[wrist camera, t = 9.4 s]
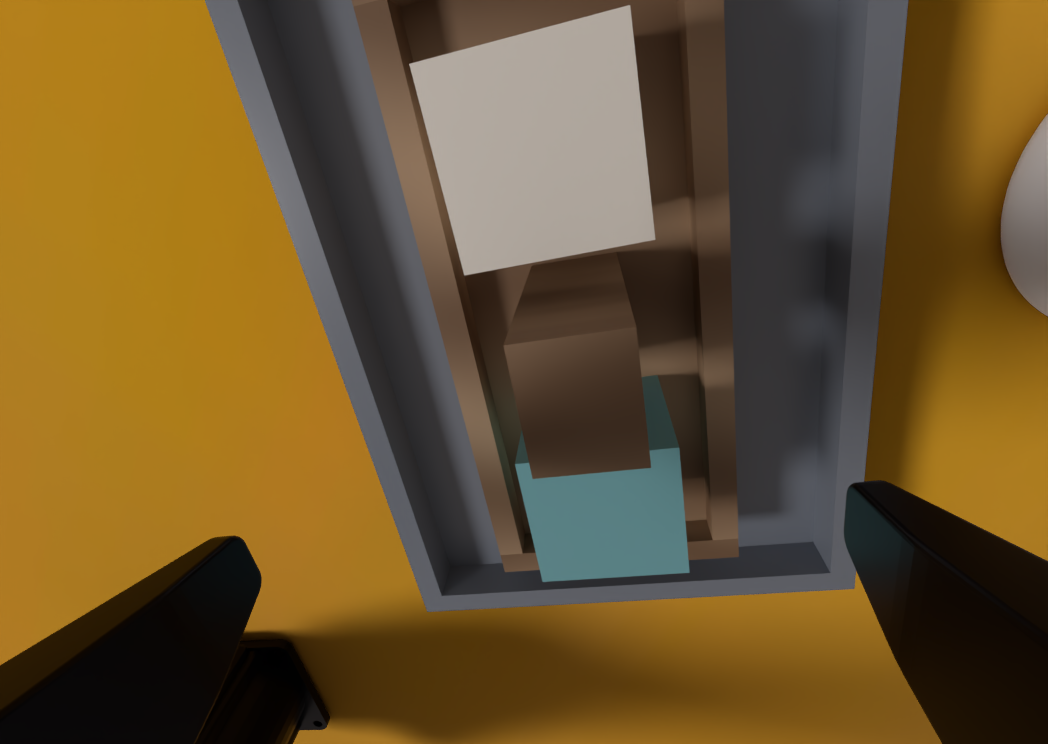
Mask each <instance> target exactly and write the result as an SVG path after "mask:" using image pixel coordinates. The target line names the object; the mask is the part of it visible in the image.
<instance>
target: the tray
mask: <svg viewBox="0 0 1048 744" xmlns="http://www.w3.org/2000/svg"><path fill="white" fill-rule="evenodd" d="M205 2H206V5H207V8H208V10H209V13H210V16H211V19H212V21H213V24H214V27H215V30H216V32H217V35H218V38H219V41H220V43H221V46H222V49H223V52H224V54H225V57H226V60H227V62H228V65H229V68H230V71H231V73H232V76H233V79H234V82H235V84H236V87H237V90H238V93H239V95H240V98H241V101H242V104H243V106H244V109H245V112H246V115H247V117H248V120H249V123H250V126H251V128H252V131H253V134H254V137H255V139H256V142H257V145H258V148H259V150H260V153H261V156H262V159H263V161H264V164H265V167H266V170H267V172H268V175H269V178H270V181H271V183H272V186H273V189H274V192H275V194H276V197H277V200H278V203H279V205H280V208H281V211H282V214H283V216H284V219H285V222H286V225H287V227H288V230H289V233H290V236H291V238H292V241H293V244H294V247H295V249H296V252H297V255H298V257H299V260H300V263H301V266H302V268H303V271H304V274H305V277H306V279H307V282H308V285H309V288H310V290H311V293H312V296H313V299H314V301H315V304H316V307H317V310H318V312H319V315H320V318H321V321H322V323H323V326H324V329H325V332H326V334H327V337H328V340H329V343H330V345H331V348H332V351H333V354H334V356H335V359H336V362H337V365H338V367H339V370H340V373H341V376H342V378H343V381H344V384H345V387H346V389H347V392H348V395H349V398H350V400H351V403H352V406H353V409H354V411H355V414H356V417H357V420H358V422H359V425H360V428H361V431H362V433H363V436H364V439H365V442H366V444H367V447H368V450H369V453H370V455H371V458H372V461H373V463H374V466H375V469H376V472H377V474H378V477H379V480H380V483H381V485H382V488H383V491H384V494H385V496H386V499H387V502H388V505H389V507H390V510H391V513H392V516H393V518H394V521H395V524H396V527H397V529H398V532H399V535H400V538H401V540H402V543H403V546H404V549H405V551H406V554H407V557H408V560H409V562H410V565H411V568H412V571H413V573H414V576H415V579H416V582H417V584H418V587H419V590H420V593H421V595H422V598H423V601H424V604H425V606H426V609H427V612H434V611H452V610H471V609H489V608H508V607H526V606H545V605H564V604H582V603H601V602H619V601H638V600H656V599H675V598H693V597H712V596H730V595H749V594H767V593H786V592H804V591H823V590H842V589H854V586H855V575H856V569H855V566H854V564H853V562H852V560H851V557H850V555H849V553H848V550H847V547H846V544H845V540H844V519H845V506H846V494H847V489H848V487H849V486H850V485H851V484H853V483H856V482H864V478H865V467H866V456H867V445H868V434H869V423H870V412H871V401H872V390H873V380H874V369H875V358H876V347H877V336H878V325H879V314H880V303H881V293H882V282H883V271H884V260H885V249H886V238H887V227H888V216H889V205H890V195H891V184H892V173H893V162H894V151H895V140H896V129H897V118H898V108H899V97H900V86H901V75H902V64H903V53H904V42H905V31H906V20H907V10H908V0H724V22H725V59H726V97H727V134H728V171H729V208H730V246H731V283H732V320H733V358H734V395H735V432H736V469H737V507H738V544H739V557H730V558H715V559H700V560H689V572H690V573H677V574H661V575H645V576H630V577H614V578H598V579H582V580H566V581H550V582H543V581H542V577H541V573H540V570H530V571H515V572H505V570H504V567H503V563H502V559H501V556H500V552H499V548H498V544H497V541H496V537H495V533H494V529H493V526H492V522H491V518H490V515H489V511H488V507H487V503H486V500H485V496H484V492H483V488H482V485H481V481H480V477H479V474H478V470H477V466H476V462H475V459H474V455H473V451H472V447H471V444H470V440H469V436H468V433H467V429H466V425H465V421H464V418H463V414H462V410H461V406H460V403H459V399H458V395H457V392H456V388H455V384H454V380H453V377H452V373H451V369H450V365H449V362H448V358H447V354H446V350H445V347H444V343H443V339H442V336H441V332H440V328H439V324H438V321H437V317H436V313H435V309H434V306H433V302H432V298H431V295H430V291H429V287H428V283H427V280H426V276H425V272H424V268H423V265H422V261H421V257H420V254H419V250H418V246H417V242H416V239H415V235H414V231H413V227H412V224H411V220H410V216H409V213H408V209H407V205H406V201H405V198H404V194H403V190H402V186H401V183H400V179H399V175H398V172H397V168H396V164H395V160H394V157H393V153H392V149H391V145H390V142H389V138H388V134H387V131H386V127H385V123H384V119H383V116H382V112H381V108H380V104H379V101H378V97H377V93H376V90H375V86H374V82H373V78H372V75H371V71H370V67H369V63H368V60H367V56H366V52H365V48H364V45H363V41H362V37H361V34H360V30H359V26H358V22H357V19H356V15H355V11H354V7H353V4H352V0H205Z"/></svg>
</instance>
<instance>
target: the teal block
mask: <svg viewBox="0 0 1048 744" xmlns="http://www.w3.org/2000/svg"><path fill="white" fill-rule="evenodd" d="M642 385H643V394H644V404H645V413H646V423H647V432H648V442H649V451H650V460H651V468H645V469H634V470H624V471H613V472H602V473H592V474H581V475H571V476H560V477H549V478H539V479H532V474H531V469H530V465H529V460H528V456H527V451H526V447H525V442H524V437H523V433H522V431H521V436H520V441H519V446H518V451H517V456H516V461H515V467H516V471H517V475H518V479H519V484H520V488H521V492H522V496H523V501H524V505H525V509H526V513H527V518H528V522H529V526H530V530H531V535H532V539H533V543H534V547H535V552H536V556H537V560H538V564H539V569H540V573H541V577H542V581H543V582H550V581H566V580H582V579H598V578H614V577H630V576H645V575H661V574H677V573H690V572H689V560H688V548H687V536H686V523H685V511H684V499H683V487H682V474H681V462H680V450H679V445H678V441H677V438H676V435H675V432H674V428H673V425H672V422H671V418H670V415H669V412H668V408H667V405H666V402H665V398H664V395H663V392H662V388H661V385H660V382H659V379H658V375H653V376H645V377H642Z"/></svg>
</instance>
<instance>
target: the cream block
mask: <svg viewBox="0 0 1048 744" xmlns="http://www.w3.org/2000/svg"><path fill="white" fill-rule="evenodd" d="M409 65H410V69H411V73H412V77H413V81H414V84H415V88H416V92H417V96H418V100H419V104H420V107H421V111H422V115H423V119H424V123H425V127H426V130H427V134H428V138H429V142H430V146H431V150H432V153H433V157H434V161H435V165H436V169H437V173H438V176H439V180H440V184H441V188H442V192H443V196H444V199H445V203H446V207H447V211H448V215H449V219H450V222H451V226H452V230H453V234H454V238H455V242H456V246H457V249H458V253H459V257H460V261H461V265H462V269H463V272H464V276H465V275H470V274H475V273H481V272H486V271H491V270H497V269H502V268H507V267H513V266H518V265H523V264H529V263H534V262H539V261H545V260H550V259H555V258H561V257H566V256H571V255H577V254H582V253H587V252H593V251H598V250H603V249H609V248H614V247H619V246H625V245H630V244H635V243H641V242H646V241H651V240H655V231H654V222H653V213H652V203H651V194H650V185H649V175H648V166H647V157H646V148H645V138H644V129H643V120H642V110H641V101H640V92H639V83H638V73H637V64H636V55H635V45H634V36H633V27H632V18H631V8H630V5H628V6H624V7H620V8H617V9H613V10H609V11H605V12H602V13H598V14H594V15H590V16H587V17H583V18H579V19H575V20H572V21H568V22H564V23H560V24H557V25H553V26H549V27H545V28H542V29H538V30H534V31H530V32H527V33H523V34H519V35H515V36H512V37H508V38H504V39H500V40H497V41H493V42H489V43H485V44H482V45H478V46H474V47H470V48H467V49H463V50H459V51H456V52H452V53H448V54H444V55H441V56H437V57H433V58H429V59H426V60H422V61H418V62H414V63H411V64H409Z"/></svg>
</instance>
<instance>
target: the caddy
mask: <svg viewBox="0 0 1048 744" xmlns="http://www.w3.org/2000/svg"><path fill="white" fill-rule="evenodd" d="M352 4H353V7H354V11H355V15H356V19H357V22H358V26H359V30H360V34H361V37H362V41H363V45H364V48H365V52H366V56H367V60H368V63H369V67H370V71H371V75H372V78H373V82H374V86H375V90H376V93H377V97H378V101H379V104H380V108H381V112H382V116H383V119H384V123H385V127H386V131H387V134H388V138H389V142H390V145H391V149H392V153H393V157H394V160H395V164H396V168H397V172H398V175H399V179H400V183H401V186H402V190H403V194H404V198H405V201H406V205H407V209H408V213H409V216H410V220H411V224H412V227H413V231H414V235H415V239H416V242H417V246H418V250H419V254H420V257H421V261H422V265H423V268H424V272H425V276H426V280H427V283H428V287H429V291H430V295H431V298H432V302H433V306H434V309H435V313H436V317H437V321H438V324H439V328H440V332H441V336H442V339H443V343H444V347H445V350H446V354H447V358H448V362H449V365H450V369H451V373H452V377H453V380H454V384H455V388H456V392H457V395H458V399H459V403H460V406H461V410H462V414H463V418H464V421H465V425H466V429H467V433H468V436H469V440H470V444H471V447H472V451H473V455H474V459H475V462H476V466H477V470H478V474H479V477H480V481H481V485H482V488H483V492H484V496H485V500H486V503H487V507H488V511H489V515H490V518H491V522H492V526H493V529H494V533H495V537H496V541H497V544H498V548H499V552H500V556H501V559H502V563H503V567H504V570H505V572H515V571H530V570H540V569H539V564H538V560H537V556H536V552H535V547H534V543H533V539H532V535H531V530H530V526H529V522H528V518H527V513H526V509H525V505H524V501H523V496H522V492H521V488H520V484H519V479H518V475H517V471H516V467H515V461H516V456H517V451H518V446H519V441H520V436H521V431H522V433H523V437H524V442H525V447H526V451H527V456H528V460H529V465H530V469H531V474H532V479H539V478H549V477H560V476H571V475H581V474H592V473H602V472H613V471H624V470H634V469H645V468H651V460H650V451H649V442H648V432H647V423H646V413H645V404H644V394H643V385H642V377H645V376H653V375H658V379H659V382H660V385H661V388H662V392H663V395H664V398H665V402H666V405H667V408H668V412H669V415H670V418H671V422H672V425H673V428H674V432H675V435H676V438H677V441H678V445H679V450H680V462H681V474H682V487H683V499H684V511H685V523H686V536H687V548H688V560H700V559H715V558H730V557H739V544H738V507H737V469H736V432H735V395H734V358H733V320H732V283H731V246H730V208H729V171H728V134H727V97H726V59H725V22H724V0H352ZM628 5H630V8H631V18H632V27H633V36H634V45H635V55H636V64H637V73H638V83H639V92H640V101H641V110H642V120H643V129H644V138H645V148H646V157H647V166H648V175H649V185H650V194H651V203H652V213H653V222H654V231H655V240H651V241H646V242H641V243H635V244H630V245H625V246H619V247H614V248H609V249H603V250H598V251H593V252H587V253H582V254H577V255H571V256H566V257H561V258H555V259H550V260H545V261H539V262H534V263H529V264H523V265H518V266H513V267H507V268H502V269H497V270H491V271H486V272H481V273H475V274H470V275H465V276H464V272H463V269H462V265H461V261H460V257H459V253H458V249H457V246H456V242H455V238H454V234H453V230H452V226H451V222H450V219H449V215H448V211H447V207H446V203H445V199H444V196H443V192H442V188H441V184H440V180H439V176H438V173H437V169H436V165H435V161H434V157H433V153H432V150H431V146H430V142H429V138H428V134H427V130H426V127H425V123H424V119H423V115H422V111H421V107H420V104H419V100H418V96H417V92H416V88H415V84H414V81H413V77H412V73H411V69H410V65H409V64H411V63H414V62H418V61H422V60H426V59H429V58H433V57H437V56H441V55H444V54H448V53H452V52H456V51H459V50H463V49H467V48H470V47H474V46H478V45H482V44H485V43H489V42H493V41H497V40H500V39H504V38H508V37H512V36H515V35H519V34H523V33H527V32H530V31H534V30H538V29H542V28H545V27H549V26H553V25H557V24H560V23H564V22H568V21H572V20H575V19H579V18H583V17H587V16H590V15H594V14H598V13H602V12H605V11H609V10H613V9H617V8H620V7H624V6H628Z"/></svg>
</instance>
